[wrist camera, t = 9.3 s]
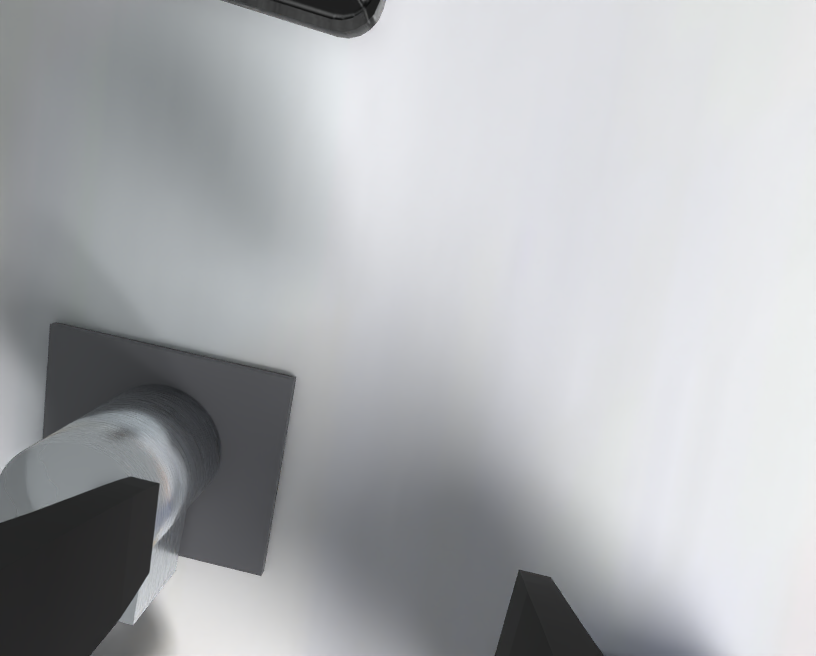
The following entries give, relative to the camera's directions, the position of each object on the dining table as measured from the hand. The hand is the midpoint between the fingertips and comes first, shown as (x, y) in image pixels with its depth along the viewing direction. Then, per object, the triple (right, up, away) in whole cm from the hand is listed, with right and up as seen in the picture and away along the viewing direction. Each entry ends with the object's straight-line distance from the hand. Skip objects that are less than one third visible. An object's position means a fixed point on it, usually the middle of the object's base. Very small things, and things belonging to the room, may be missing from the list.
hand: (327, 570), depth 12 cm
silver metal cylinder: (-8, -1, +11) cm, 13 cm away
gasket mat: (-8, 0, +11) cm, 13 cm away
